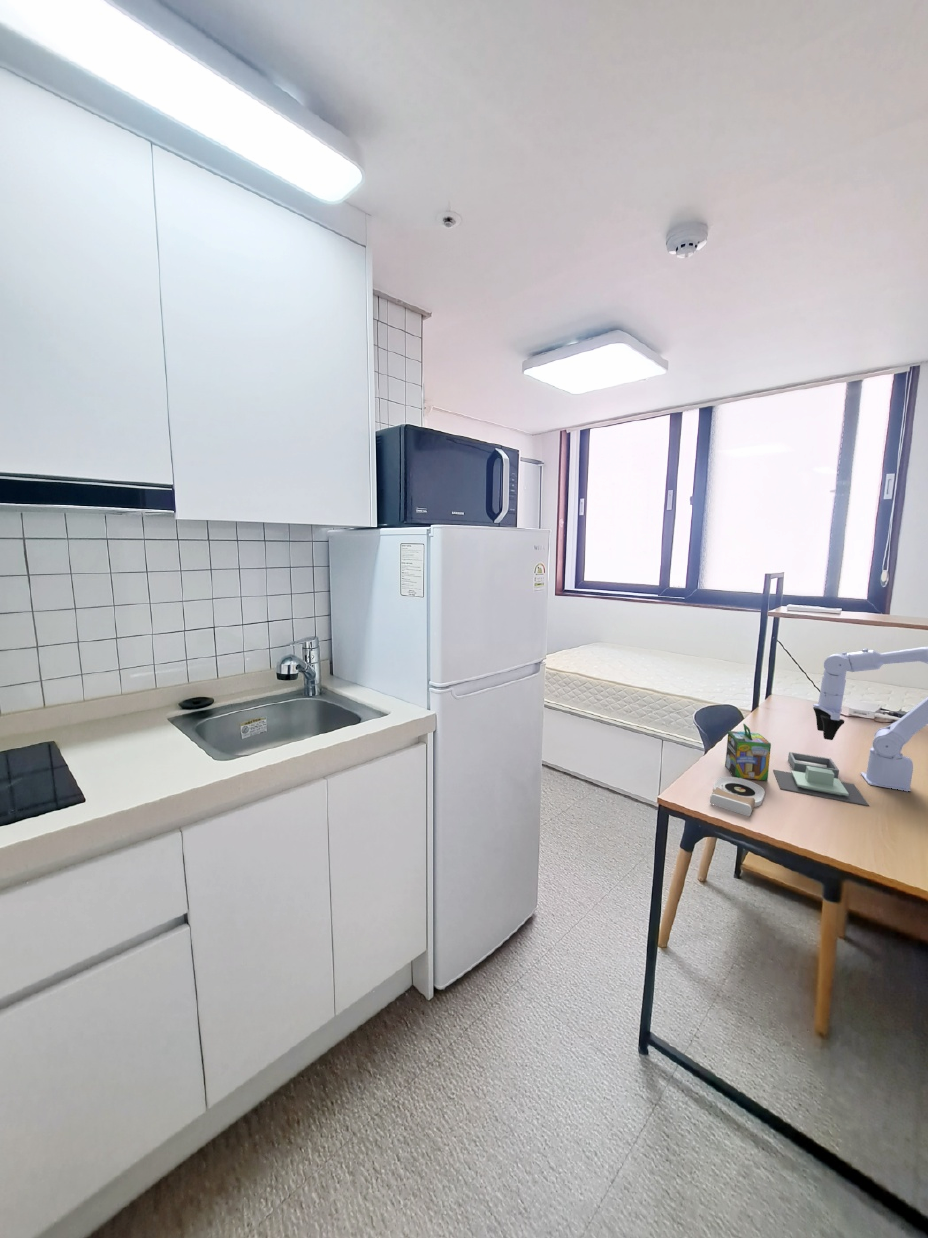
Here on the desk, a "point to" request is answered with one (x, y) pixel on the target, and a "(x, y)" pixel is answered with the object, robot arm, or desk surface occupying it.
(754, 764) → the chalk box
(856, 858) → the desk surface
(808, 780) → the lid
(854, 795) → the rubber mat
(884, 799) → the desk surface
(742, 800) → the record player
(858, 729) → the desk surface
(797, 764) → the chalk tray box
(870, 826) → the desk surface
